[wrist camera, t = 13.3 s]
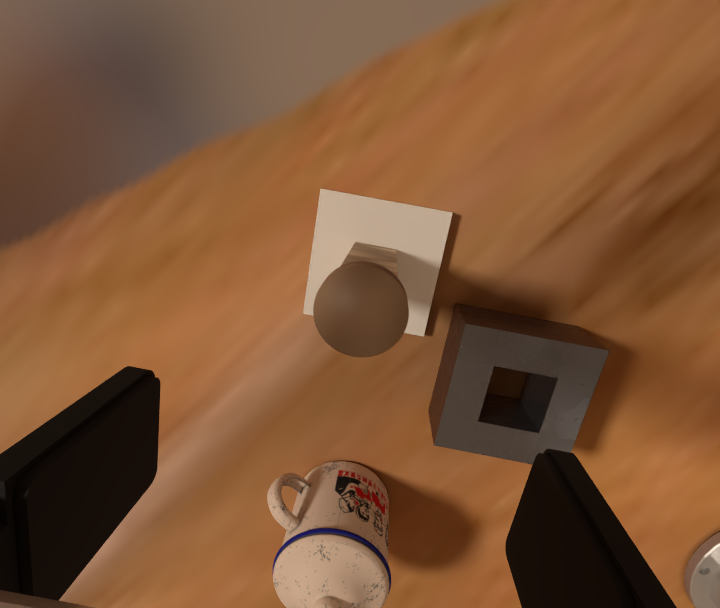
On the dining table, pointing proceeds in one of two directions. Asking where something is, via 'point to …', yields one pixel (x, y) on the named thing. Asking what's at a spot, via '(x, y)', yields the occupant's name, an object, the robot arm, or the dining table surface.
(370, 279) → the peg
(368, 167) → the dining table surface
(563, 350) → the eye block
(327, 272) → the tile
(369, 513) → the teacup with lid
